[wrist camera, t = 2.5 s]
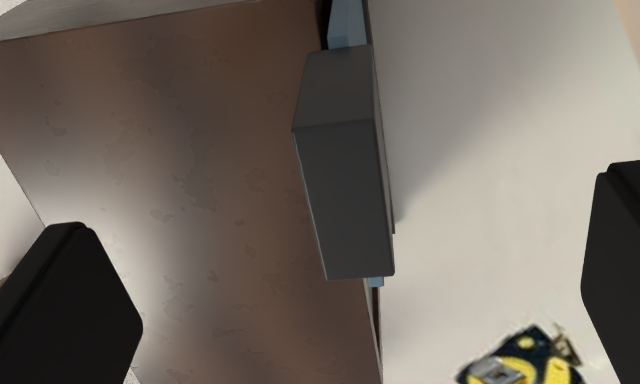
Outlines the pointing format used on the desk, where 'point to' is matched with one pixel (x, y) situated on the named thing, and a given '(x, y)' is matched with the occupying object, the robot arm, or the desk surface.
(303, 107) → the sliding door
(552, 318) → the desk surface
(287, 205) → the cabinet
